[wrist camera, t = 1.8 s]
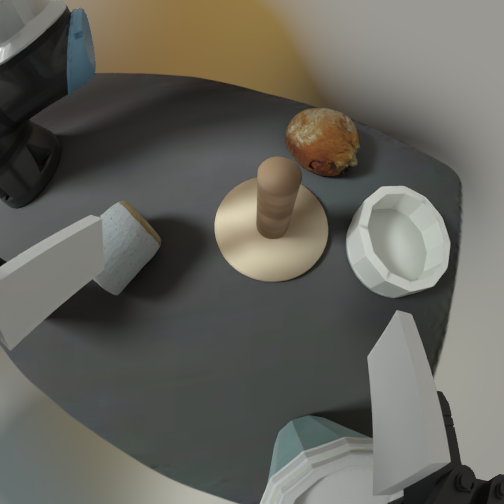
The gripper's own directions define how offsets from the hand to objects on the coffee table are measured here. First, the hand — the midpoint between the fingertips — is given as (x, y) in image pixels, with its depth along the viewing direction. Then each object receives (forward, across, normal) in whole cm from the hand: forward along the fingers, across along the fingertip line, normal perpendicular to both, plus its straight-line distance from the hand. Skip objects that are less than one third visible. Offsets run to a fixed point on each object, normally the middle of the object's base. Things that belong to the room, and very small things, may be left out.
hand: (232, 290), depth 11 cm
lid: (+21, -1, -5) cm, 22 cm away
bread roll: (+31, +3, +4) cm, 31 cm away
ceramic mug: (+16, -17, -11) cm, 26 cm away
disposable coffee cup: (+6, +10, -22) cm, 25 cm away
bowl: (+23, +14, -4) cm, 27 cm away
